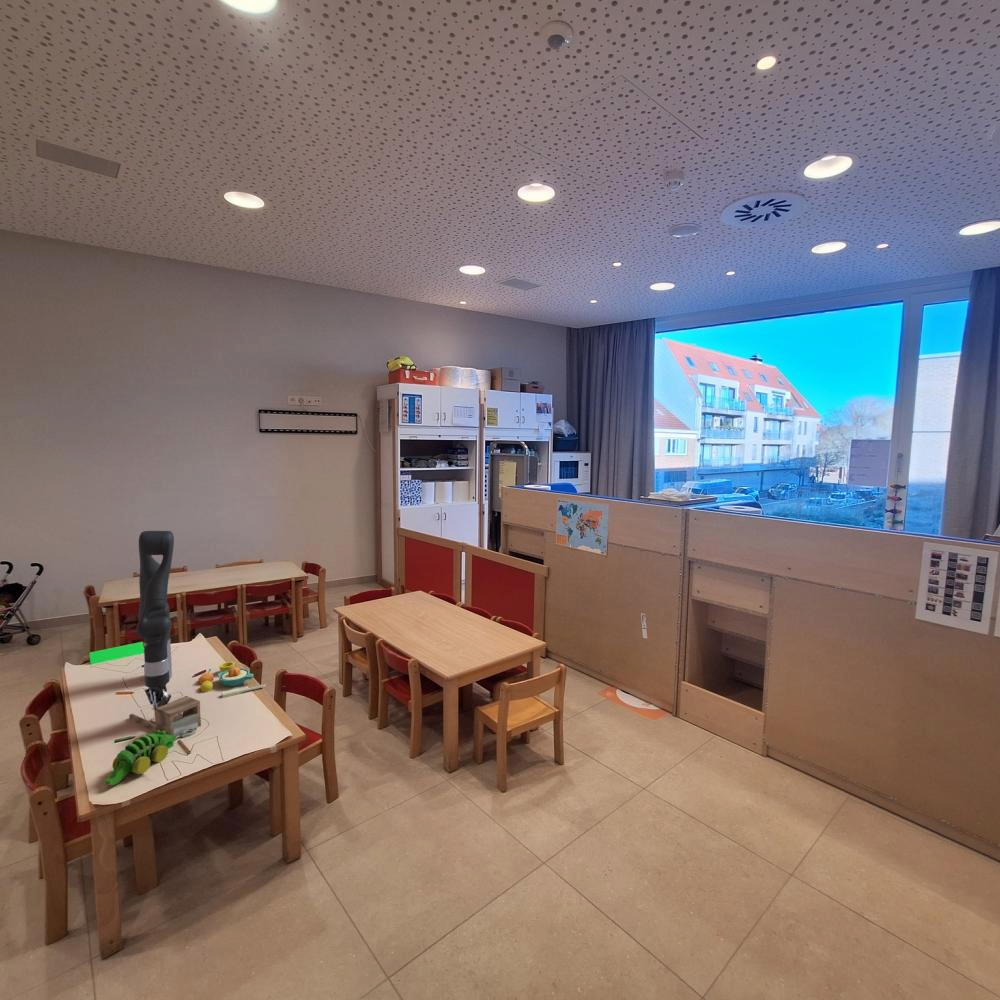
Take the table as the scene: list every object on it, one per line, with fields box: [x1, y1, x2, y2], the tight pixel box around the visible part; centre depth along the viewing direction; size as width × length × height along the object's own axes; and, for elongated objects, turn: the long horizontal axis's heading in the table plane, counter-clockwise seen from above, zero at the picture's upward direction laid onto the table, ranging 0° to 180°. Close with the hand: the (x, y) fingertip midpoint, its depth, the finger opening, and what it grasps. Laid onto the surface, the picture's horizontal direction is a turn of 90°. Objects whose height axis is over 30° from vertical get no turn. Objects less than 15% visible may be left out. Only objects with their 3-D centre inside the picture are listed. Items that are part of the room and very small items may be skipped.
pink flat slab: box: [149, 714, 183, 724], centre depth 188 cm, size 12×7×3 cm, turn 62°
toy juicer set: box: [198, 661, 267, 699], centre depth 219 cm, size 29×18×8 cm, turn 55°
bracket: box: [89, 641, 144, 665], centre depth 243 cm, size 20×10×7 cm, turn 132°
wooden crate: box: [128, 695, 202, 737], centre depth 190 cm, size 26×10×9 cm, turn 62°
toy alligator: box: [103, 728, 197, 786], centre depth 170 cm, size 10×32×9 cm, turn 166°
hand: (159, 716), depth 192 cm, fingers closed
